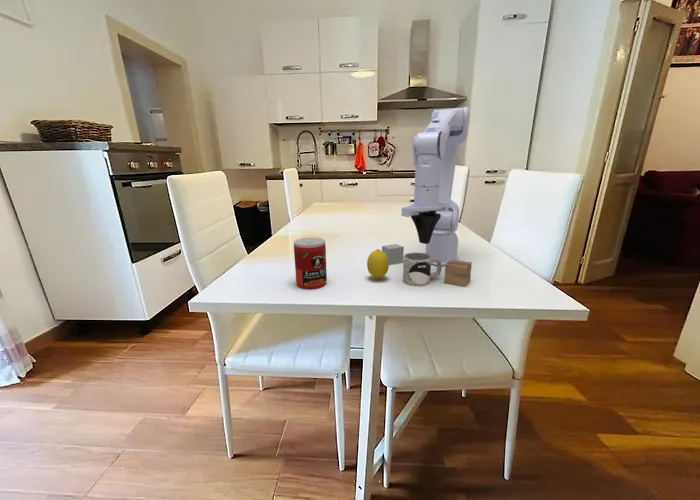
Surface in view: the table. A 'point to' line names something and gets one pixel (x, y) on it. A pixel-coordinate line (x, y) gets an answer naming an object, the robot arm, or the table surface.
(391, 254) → the grey block
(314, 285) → the canned food
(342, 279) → the table surface
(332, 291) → the table surface
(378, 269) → the lemon
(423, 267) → the mug
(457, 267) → the walnut block
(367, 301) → the table surface
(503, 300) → the table surface
